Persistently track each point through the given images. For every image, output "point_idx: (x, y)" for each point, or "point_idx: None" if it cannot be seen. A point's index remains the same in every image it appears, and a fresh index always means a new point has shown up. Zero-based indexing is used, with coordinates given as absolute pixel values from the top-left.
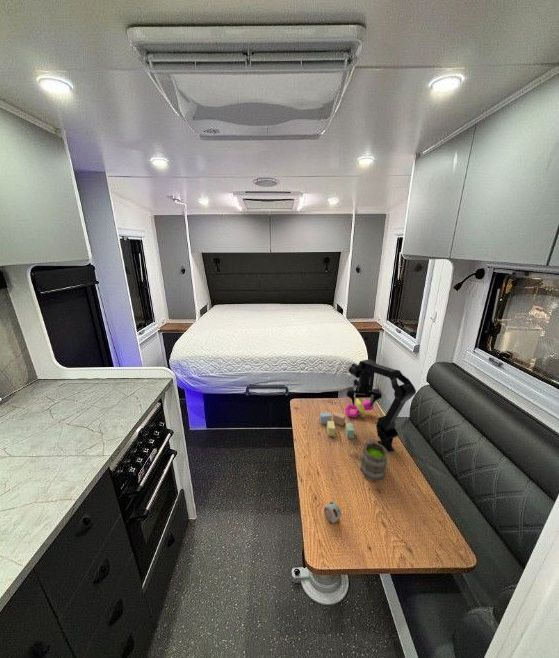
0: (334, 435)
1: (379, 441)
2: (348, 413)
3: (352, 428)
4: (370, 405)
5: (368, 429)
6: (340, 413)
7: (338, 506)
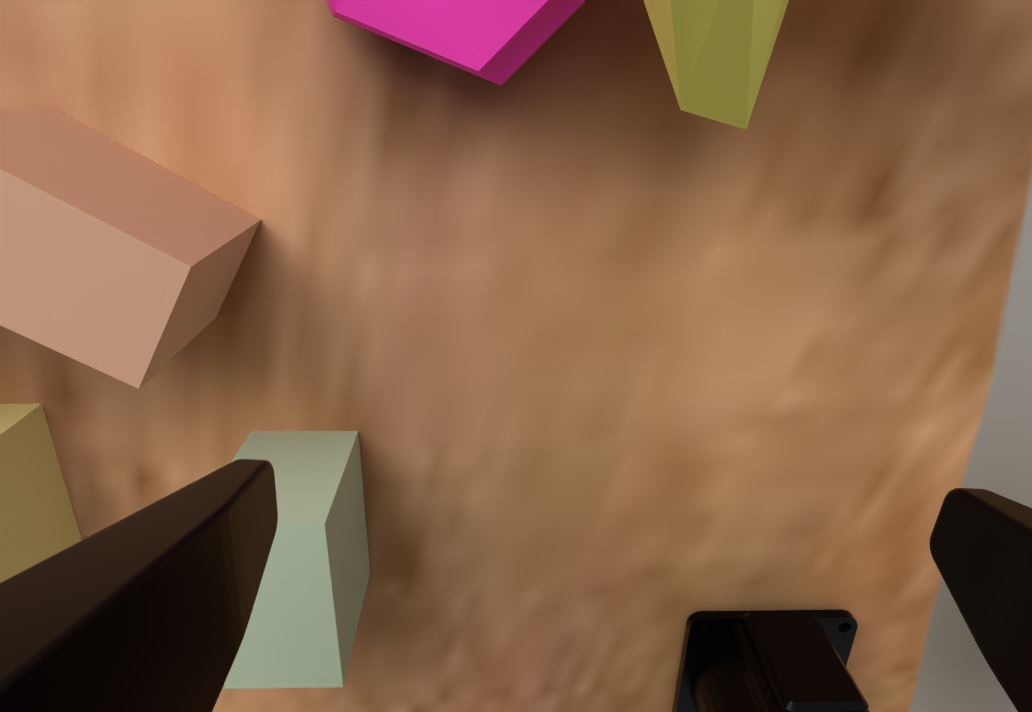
0: None
1: (714, 630)
2: (332, 5)
3: (314, 644)
4: (981, 644)
5: (662, 386)
6: (52, 195)
7: None
